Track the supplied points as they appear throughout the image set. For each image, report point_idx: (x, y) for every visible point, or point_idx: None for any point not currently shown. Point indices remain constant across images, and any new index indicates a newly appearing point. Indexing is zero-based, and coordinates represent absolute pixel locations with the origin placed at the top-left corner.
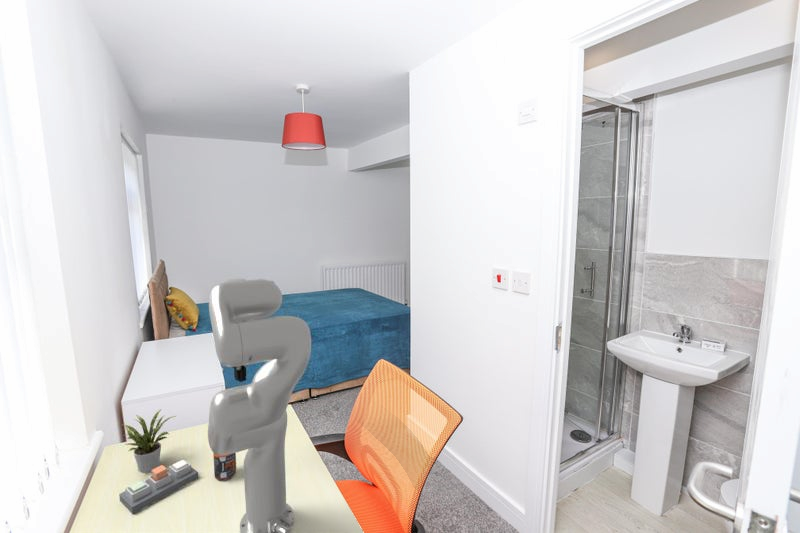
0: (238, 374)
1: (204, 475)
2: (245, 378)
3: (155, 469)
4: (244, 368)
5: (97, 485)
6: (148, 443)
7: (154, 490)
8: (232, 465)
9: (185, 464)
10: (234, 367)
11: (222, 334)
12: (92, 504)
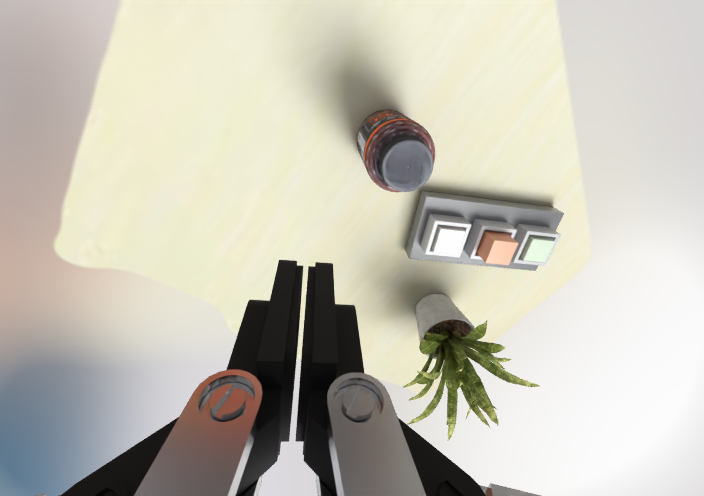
0: (346, 335)
1: None
2: (285, 268)
3: (503, 259)
4: (277, 358)
5: (502, 329)
6: (472, 339)
7: (510, 222)
8: (391, 113)
9: (445, 229)
10: (415, 436)
11: None
12: (544, 291)
